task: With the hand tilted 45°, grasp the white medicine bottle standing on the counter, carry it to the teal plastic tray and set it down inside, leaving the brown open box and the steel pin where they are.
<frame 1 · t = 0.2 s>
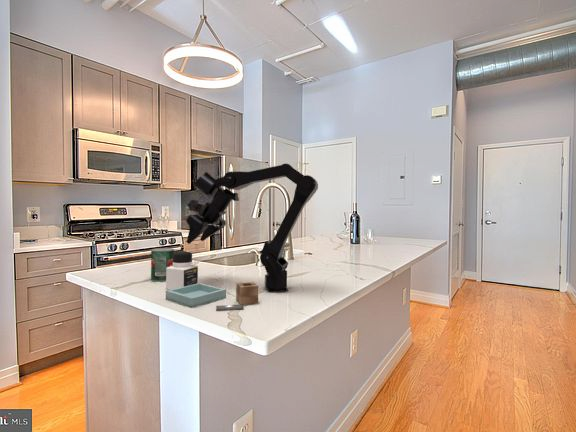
hand: (194, 241, 108), 15 cm above the countertop, tool tilted 35°, fingers open, 9 cm apart
canned tomato: (162, 279, 113), on the countertop
tray: (196, 298, 90), on the countertop
brown open box: (246, 302, 88), on the countertop
pin gauge: (230, 305, 81), point 1 cm above the countertop, tilted 158°
medicine bottle: (182, 288, 102), on the countertop
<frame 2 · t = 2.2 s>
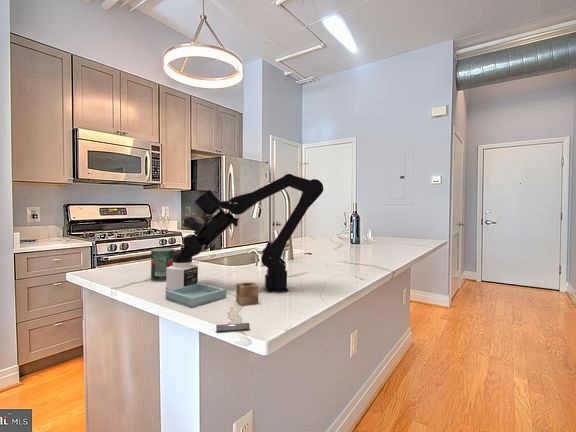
hand: (181, 259, 101), 9 cm above the countertop, tool tilted 45°, fingers open, 9 cm apart
pin gauge: (233, 324, 67), point 1 cm above the countertop, tilted 164°
everything else where it was.
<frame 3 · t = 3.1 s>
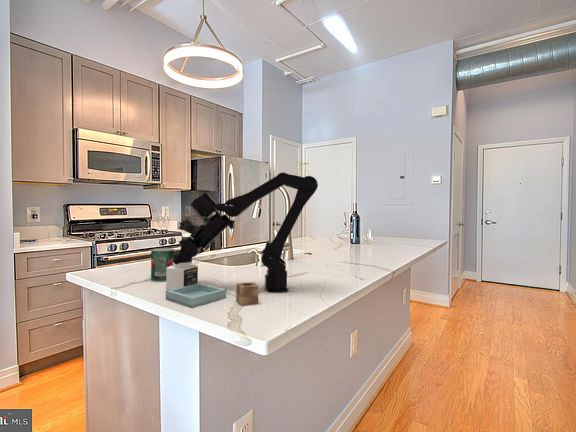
hand: (178, 261, 101), 9 cm above the countertop, tool tilted 45°, fingers closed on medicine bottle, 6 cm apart
medicine bottle: (182, 288, 102), on the countertop, touching gripper
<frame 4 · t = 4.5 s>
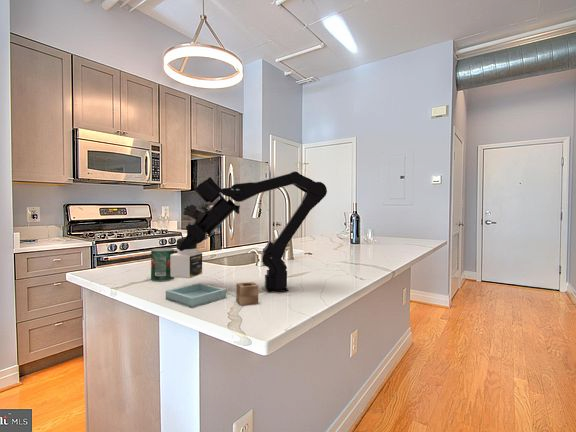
hand: (182, 248, 99), 13 cm above the countertop, tool tilted 45°, fingers closed on medicine bottle, 6 cm apart
medicine bottle: (186, 276, 99), point 4 cm above the countertop, touching gripper
when the fingers open (11 cm above the countertop, at t = 6.2 s): medicine bottle stays where it is, resting on tray.
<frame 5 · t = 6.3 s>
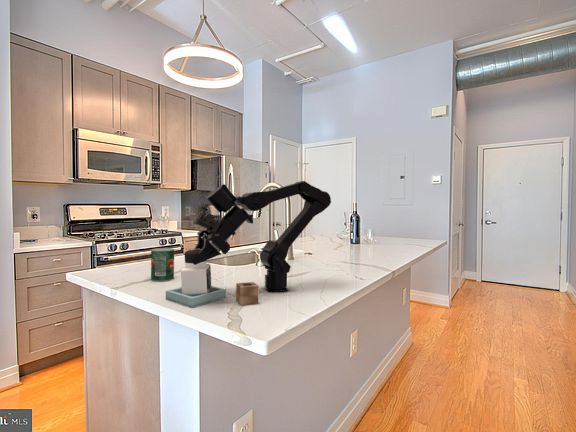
hand: (191, 261, 89), 11 cm above the countertop, tool tilted 45°, fingers open, 6 cm apart
medicine bottle: (197, 291, 90), point 2 cm above the countertop, touching tray
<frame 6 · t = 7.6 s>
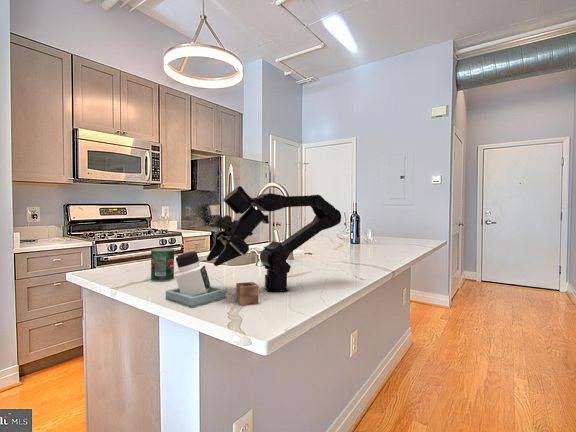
hand: (210, 262, 92), 10 cm above the countertop, tool tilted 45°, fingers open, 9 cm apart
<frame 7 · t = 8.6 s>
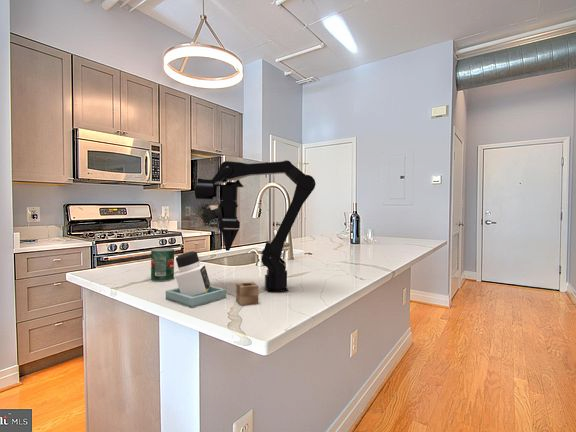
hand: (226, 248, 102), 13 cm above the countertop, tool pointing down, fingers open, 9 cm apart
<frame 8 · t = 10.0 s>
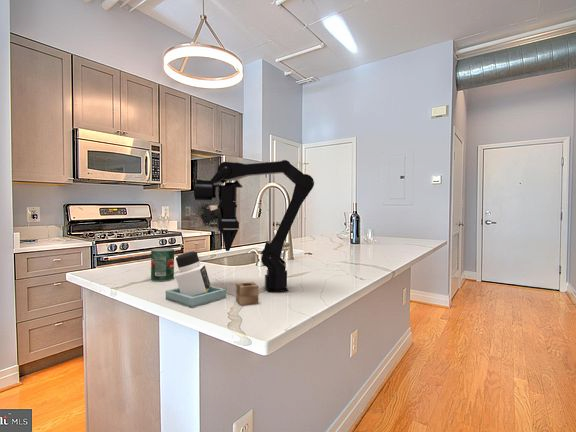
hand: (226, 249, 102), 13 cm above the countertop, tool pointing down, fingers open, 9 cm apart
at the end: medicine bottle 0.4 cm from the tray (horizontally); medicine bottle tilted 17°; medicine bottle point 1.4 cm above the countertop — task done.
